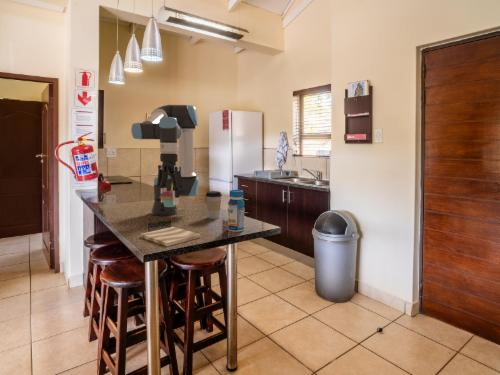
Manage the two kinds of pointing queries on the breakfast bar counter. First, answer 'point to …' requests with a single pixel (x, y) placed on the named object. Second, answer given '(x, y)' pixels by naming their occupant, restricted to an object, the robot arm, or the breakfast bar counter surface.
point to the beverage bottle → (236, 211)
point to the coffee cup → (213, 204)
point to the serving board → (170, 236)
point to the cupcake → (167, 198)
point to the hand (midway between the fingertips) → (169, 203)
